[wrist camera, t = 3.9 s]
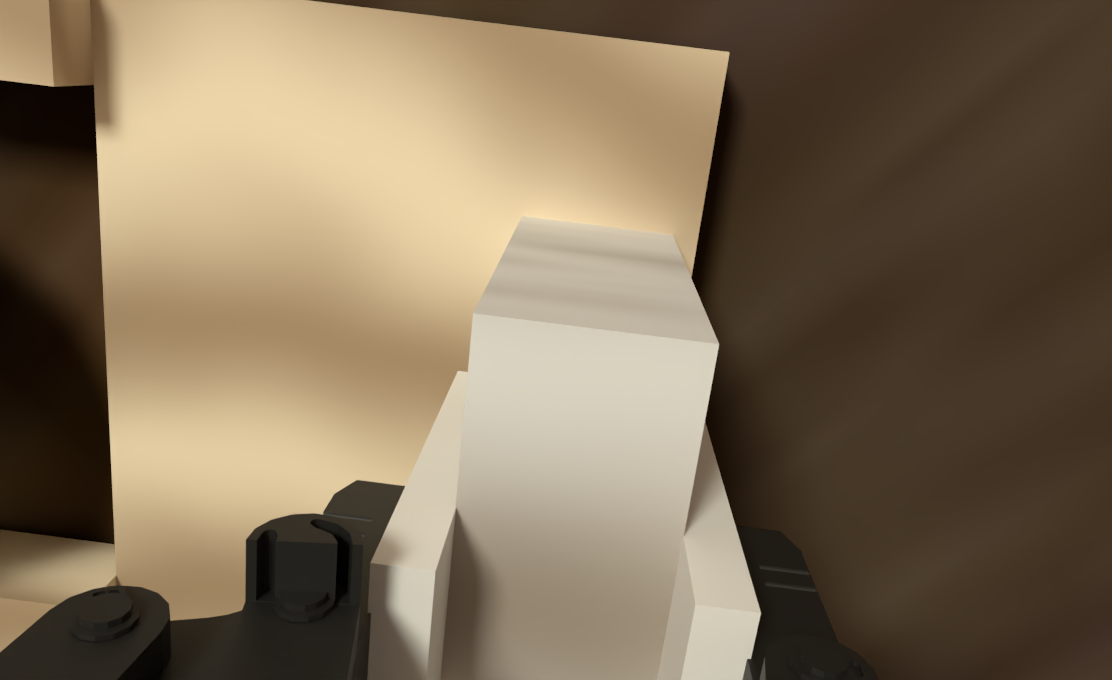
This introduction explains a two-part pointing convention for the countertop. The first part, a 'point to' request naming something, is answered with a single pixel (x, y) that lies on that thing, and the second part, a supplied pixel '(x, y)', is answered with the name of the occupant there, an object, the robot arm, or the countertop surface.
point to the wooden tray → (392, 305)
